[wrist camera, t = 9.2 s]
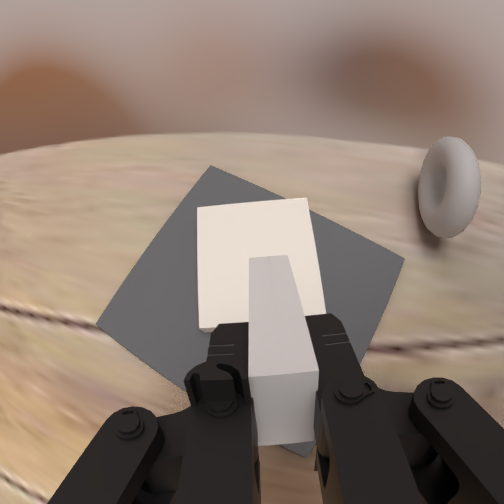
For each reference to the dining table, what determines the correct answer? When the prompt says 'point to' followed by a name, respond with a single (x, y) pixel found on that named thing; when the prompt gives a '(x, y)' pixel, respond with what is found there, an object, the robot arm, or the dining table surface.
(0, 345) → the dining table surface
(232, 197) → the mat
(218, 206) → the board
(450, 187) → the donut
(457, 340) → the dining table surface
